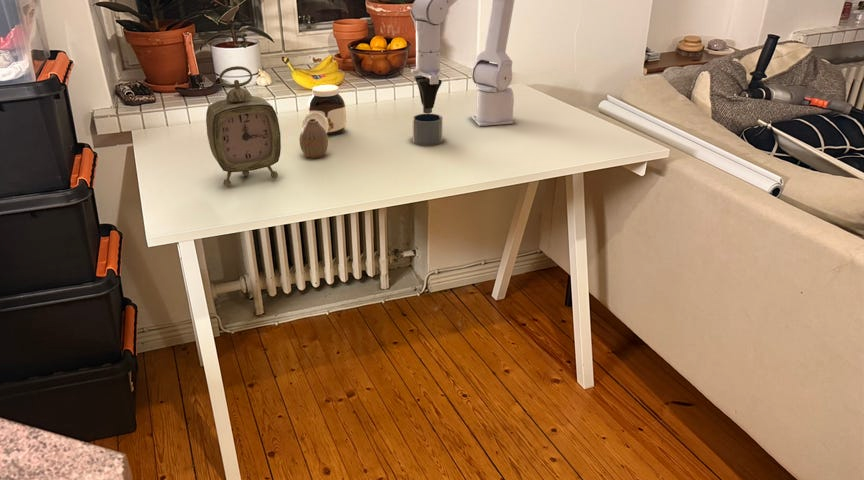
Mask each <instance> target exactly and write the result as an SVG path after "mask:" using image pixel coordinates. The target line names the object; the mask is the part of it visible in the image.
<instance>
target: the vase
mask: <svg viewBox="0 0 864 480" xmlns="http://www.w3.org/2000/svg"><path fill="white" fill-rule="evenodd" d="M298 142H299V147H300V151H302V153H303V155H305V156H306V157H307V158H310V159H316V158H321V157H323V156H324V155H325V154H326V152H327V150H328V148H329V136H327V133H326V131H325V130H324V128H323V127H322V126H321V125H320V124H319V122H318V120H317V119H309V120H307V123H306V125H305V126H304V128H302V130H301V131H300V133H299V141H298Z"/></svg>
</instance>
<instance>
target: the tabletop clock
mask: <svg viewBox="0 0 864 480" xmlns="http://www.w3.org/2000/svg"><path fill="white" fill-rule="evenodd" d="M238 70H239V71H240V70H241V71H245V72H247V73H248V74H249V78H248V79H247V80H246V81H243V82H240V81H239V79H235V80H234V81H233V83H227V82H224V81H223V79H222V78H223V76H224V75H225V74H226V73H228V72H231V71H238ZM252 80H253V73H252V71H251V70H250V69H249V68H247V67H245V66H241V65H240V66H239V65H237V66H236V65H235V66H230V67H227V68H225V69H224V70H222V71H221V73H220V74H219V82H220V84H221V85H223V86H224V87H226V88H227V87H228V88H232V89H230V90H229V91H228V92H227V93H226V97H225V98H224V99H222V100H217V101H215V102H212V103H211V104H209V105H208V106H207V109H206V115H205V124H206V136H207V140H208V144H209V149H210V151H211V154H212V156H213V157H214V159H215V161H216V162H217V164H218V166H219V167H220V168H221V169H222V171H223V172H227V173H226V179H224V180H223V183H222V184H223V185H224V186H225V187H226V188H227V187H230V186H231V185H232V181H231V179H230V178H231V176H232V173H242V175H243V176H244V177H248V176H249V175H250V172H251V171H256V170H261V169H264V168H267V169H268V171H269V172H270V177H271V178H272V179H277V178H278V177H279V174H278V172H277V171H276V170H273V168H272V167H271V166H274V165H276V164H277V163H278V162H279V160H280V156H281V150H282V145H281V144H282V143H281V129H280V123H279V118H278V115H277V113H276V110H275V108H274V107H273V105H271V104H270V103H269V102H268V101H267V100H266V99H265V98H263V97H260V96H252V95H251V94H250V93H249V92H248V90H247V89H245V88H244V87H243V86H246V85H248V84H250V82H251V81H252Z"/></svg>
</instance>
